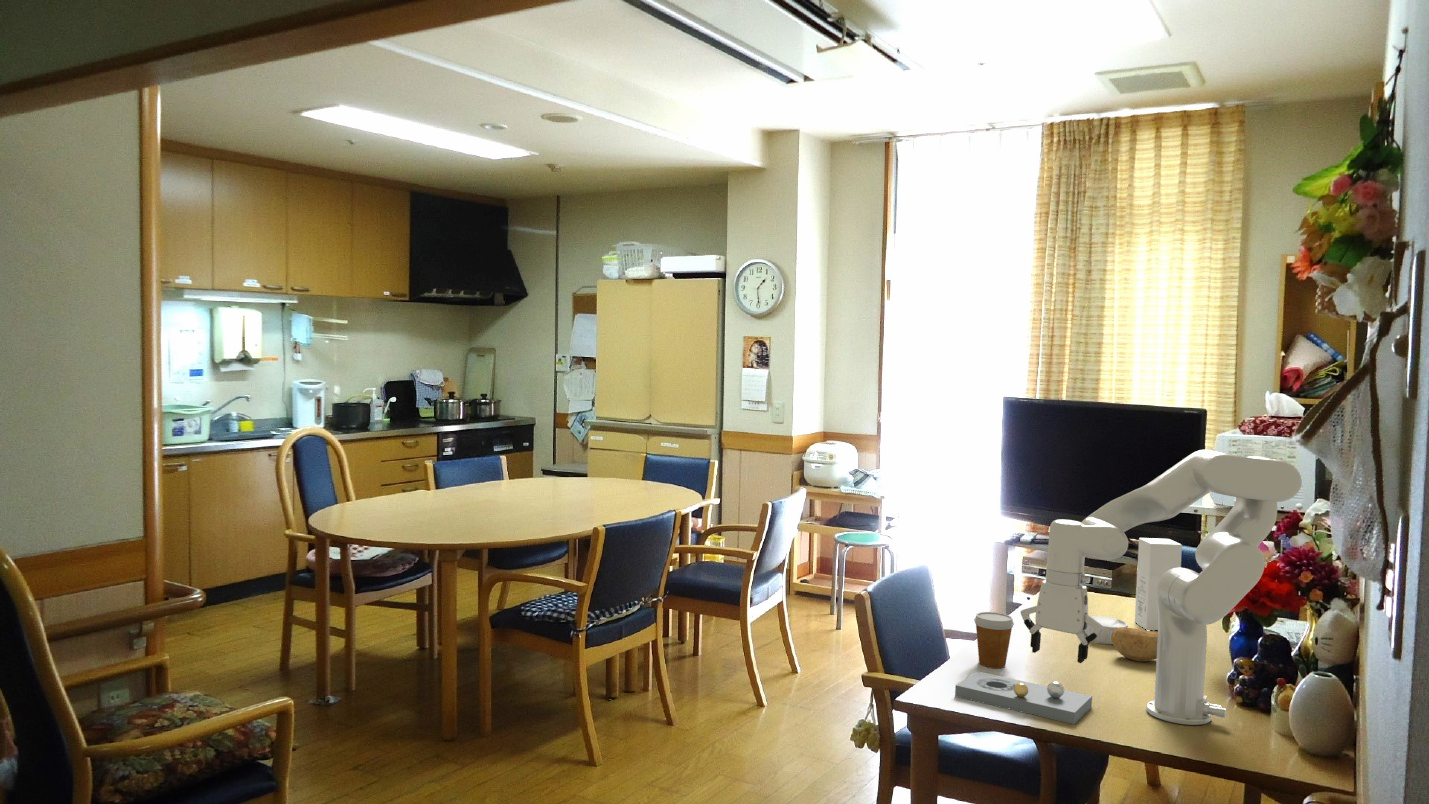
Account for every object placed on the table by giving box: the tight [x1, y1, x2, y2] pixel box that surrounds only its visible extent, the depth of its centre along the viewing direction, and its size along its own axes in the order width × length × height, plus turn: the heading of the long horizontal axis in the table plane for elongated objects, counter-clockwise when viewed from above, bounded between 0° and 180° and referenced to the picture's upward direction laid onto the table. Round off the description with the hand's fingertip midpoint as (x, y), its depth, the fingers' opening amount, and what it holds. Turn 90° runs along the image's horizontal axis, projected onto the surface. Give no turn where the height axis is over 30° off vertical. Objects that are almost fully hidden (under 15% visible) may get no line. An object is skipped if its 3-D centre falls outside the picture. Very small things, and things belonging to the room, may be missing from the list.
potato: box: [1111, 626, 1158, 662], centre depth 253 cm, size 10×14×8 cm
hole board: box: [954, 671, 1093, 725], centre depth 219 cm, size 26×13×2 cm, turn 54°
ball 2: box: [1046, 681, 1065, 698], centre depth 215 cm, size 4×4×4 cm
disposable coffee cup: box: [973, 611, 1015, 669], centre depth 245 cm, size 10×10×12 cm
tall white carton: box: [1134, 537, 1183, 630], centre depth 284 cm, size 9×9×25 cm
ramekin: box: [1085, 615, 1129, 645], centre depth 270 cm, size 11×11×5 cm
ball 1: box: [1014, 683, 1028, 697], centre depth 215 cm, size 3×3×3 cm
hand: (1058, 656), depth 214 cm, fingers open, 9 cm apart
